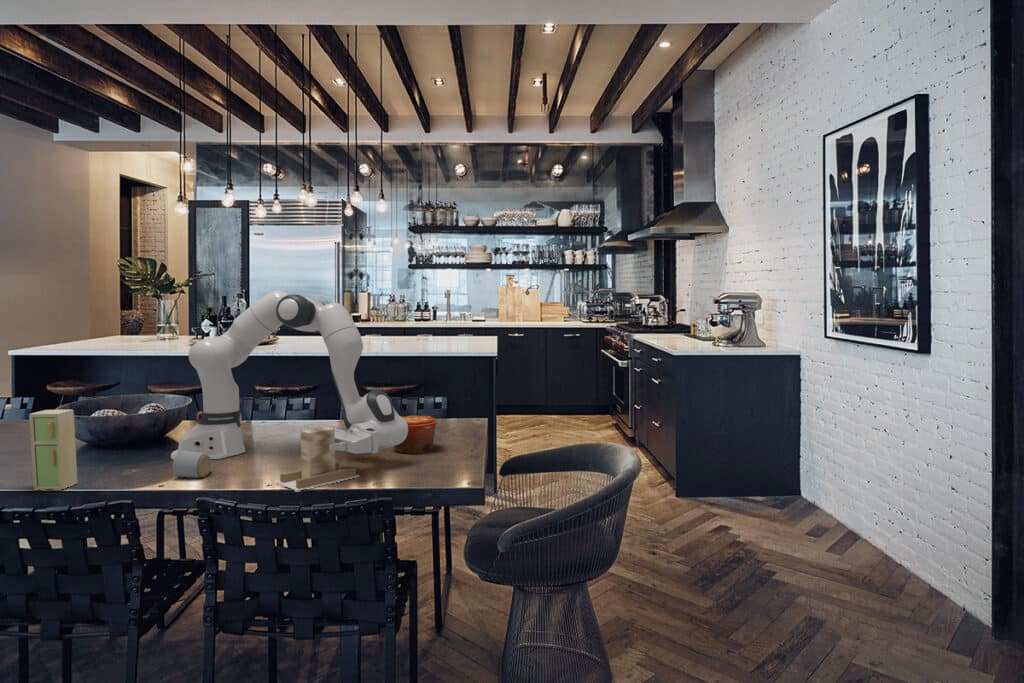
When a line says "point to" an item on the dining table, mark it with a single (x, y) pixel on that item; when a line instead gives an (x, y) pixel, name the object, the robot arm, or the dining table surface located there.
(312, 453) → the wooden block
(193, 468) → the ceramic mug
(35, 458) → the toy refrigerator
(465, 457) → the dining table surface
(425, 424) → the food container
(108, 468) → the dining table surface
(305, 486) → the track
